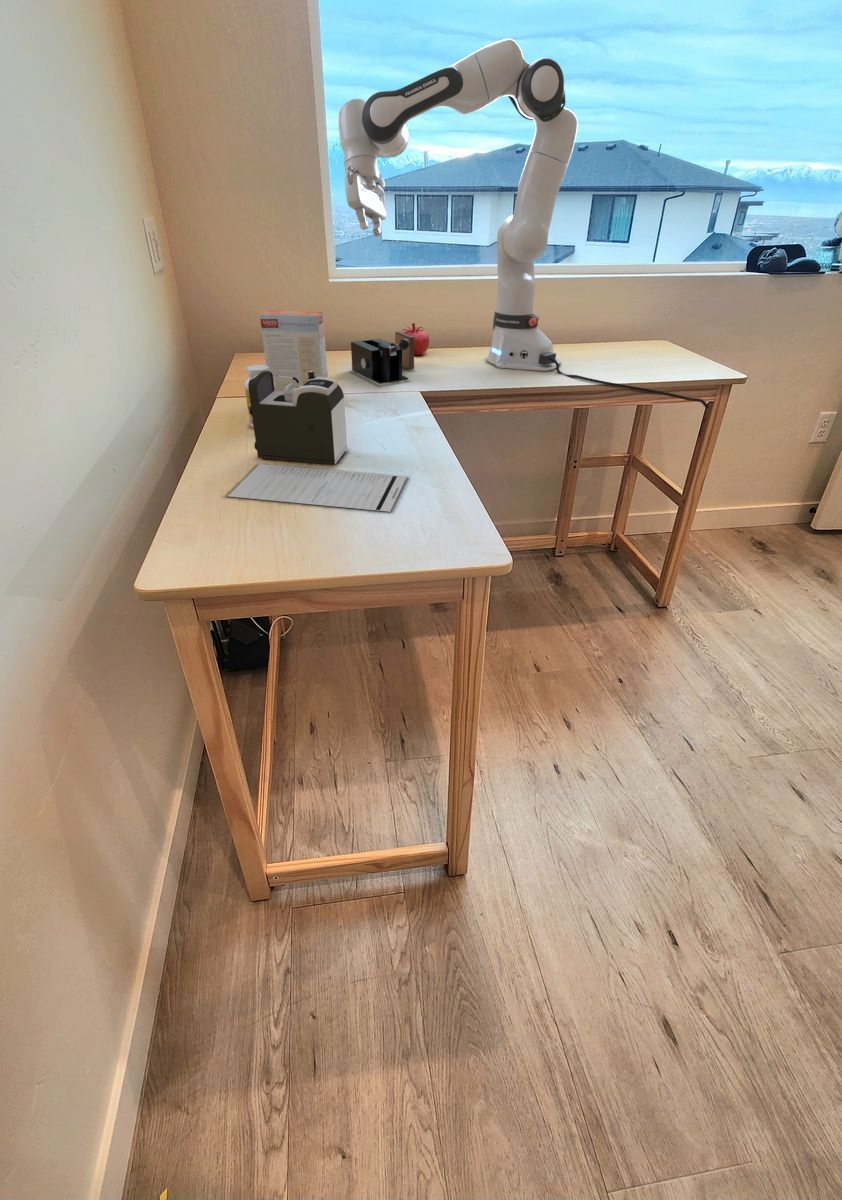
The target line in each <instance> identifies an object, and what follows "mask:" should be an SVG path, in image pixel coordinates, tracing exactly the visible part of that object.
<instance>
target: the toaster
mask: <svg viewBox="0 0 842 1200" xmlns="http://www.w3.org/2000/svg"><path fill="white" fill-rule="evenodd" d="M391 343H392V342H389V341H388V340H385V339H383V338H373V339H366V340H365V339H363V340H355V341H350V351H351V370H352V372H355V373H357V374H358V375H361V376H362V377H365V378H366V379H369V380H371V381H373V380H372V379H377V378H379V350H378V345H380V344H382V345H384V346H387V347H391ZM389 359H390V376H392V368H391V358H389Z"/></svg>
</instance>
